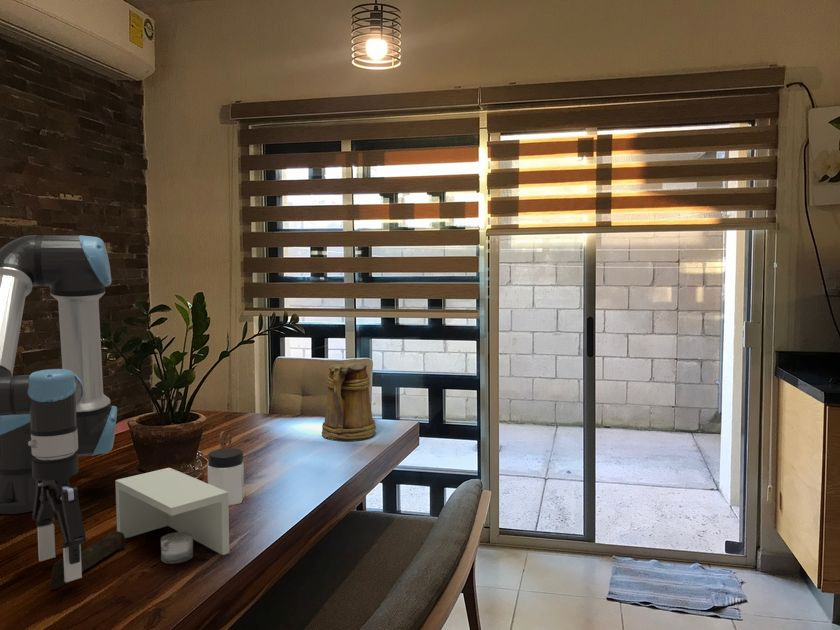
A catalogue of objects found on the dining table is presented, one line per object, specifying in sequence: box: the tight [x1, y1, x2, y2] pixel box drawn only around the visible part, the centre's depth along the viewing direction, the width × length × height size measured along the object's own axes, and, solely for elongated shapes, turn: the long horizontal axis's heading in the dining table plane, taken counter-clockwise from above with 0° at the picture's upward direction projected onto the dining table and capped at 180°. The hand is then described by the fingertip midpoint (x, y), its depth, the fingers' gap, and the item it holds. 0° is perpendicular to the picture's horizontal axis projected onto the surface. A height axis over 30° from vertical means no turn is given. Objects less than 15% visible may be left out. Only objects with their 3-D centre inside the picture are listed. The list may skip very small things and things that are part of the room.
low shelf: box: [114, 467, 230, 556], centre depth 141 cm, size 24×12×12 cm, turn 47°
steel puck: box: [160, 531, 194, 565], centre depth 136 cm, size 6×6×4 cm
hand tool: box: [49, 530, 126, 590], centre depth 131 cm, size 19×4×5 cm, turn 166°
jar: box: [207, 447, 245, 507], centre depth 167 cm, size 9×8×12 cm
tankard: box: [321, 358, 377, 442], centre depth 228 cm, size 18×24×25 cm
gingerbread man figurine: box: [216, 430, 233, 450], centre depth 188 cm, size 9×4×12 cm, turn 168°
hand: (59, 568), depth 127 cm, fingers open, 12 cm apart
